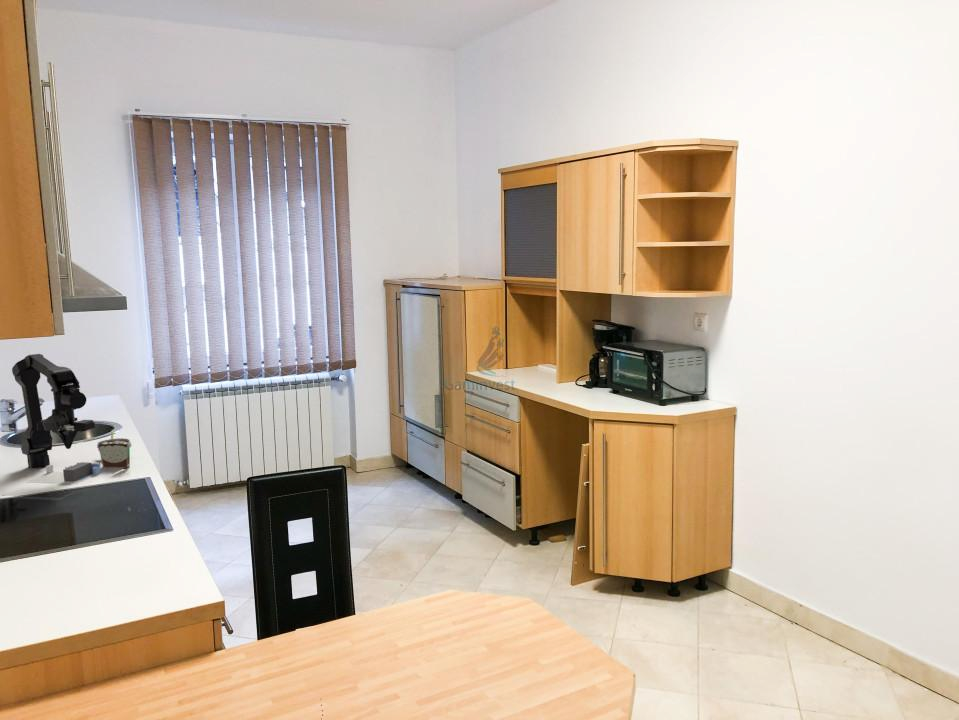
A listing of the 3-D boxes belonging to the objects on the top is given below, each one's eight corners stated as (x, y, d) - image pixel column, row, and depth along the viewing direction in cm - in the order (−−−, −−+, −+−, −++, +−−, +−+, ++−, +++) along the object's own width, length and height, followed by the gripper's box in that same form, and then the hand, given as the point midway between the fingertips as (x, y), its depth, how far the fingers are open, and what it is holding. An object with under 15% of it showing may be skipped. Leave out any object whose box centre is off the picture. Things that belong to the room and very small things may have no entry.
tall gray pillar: (64, 481, 265) (63, 469, 265) (82, 473, 274) (81, 462, 274) (74, 481, 265) (73, 470, 264) (92, 473, 273) (91, 462, 273)
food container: (140, 464, 287) (137, 437, 285) (131, 469, 281) (128, 442, 279) (109, 464, 288) (106, 438, 286) (99, 468, 282) (96, 442, 280)
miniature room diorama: (25, 484, 266) (24, 472, 265) (52, 473, 278) (50, 461, 277) (76, 486, 262) (75, 473, 261) (101, 474, 274) (100, 463, 274)
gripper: (22, 409, 261) (27, 454, 263) (71, 411, 257) (75, 456, 260) (46, 402, 272) (51, 445, 274) (93, 403, 268) (98, 447, 271)
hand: (68, 448), depth 269 cm, fingers closed
